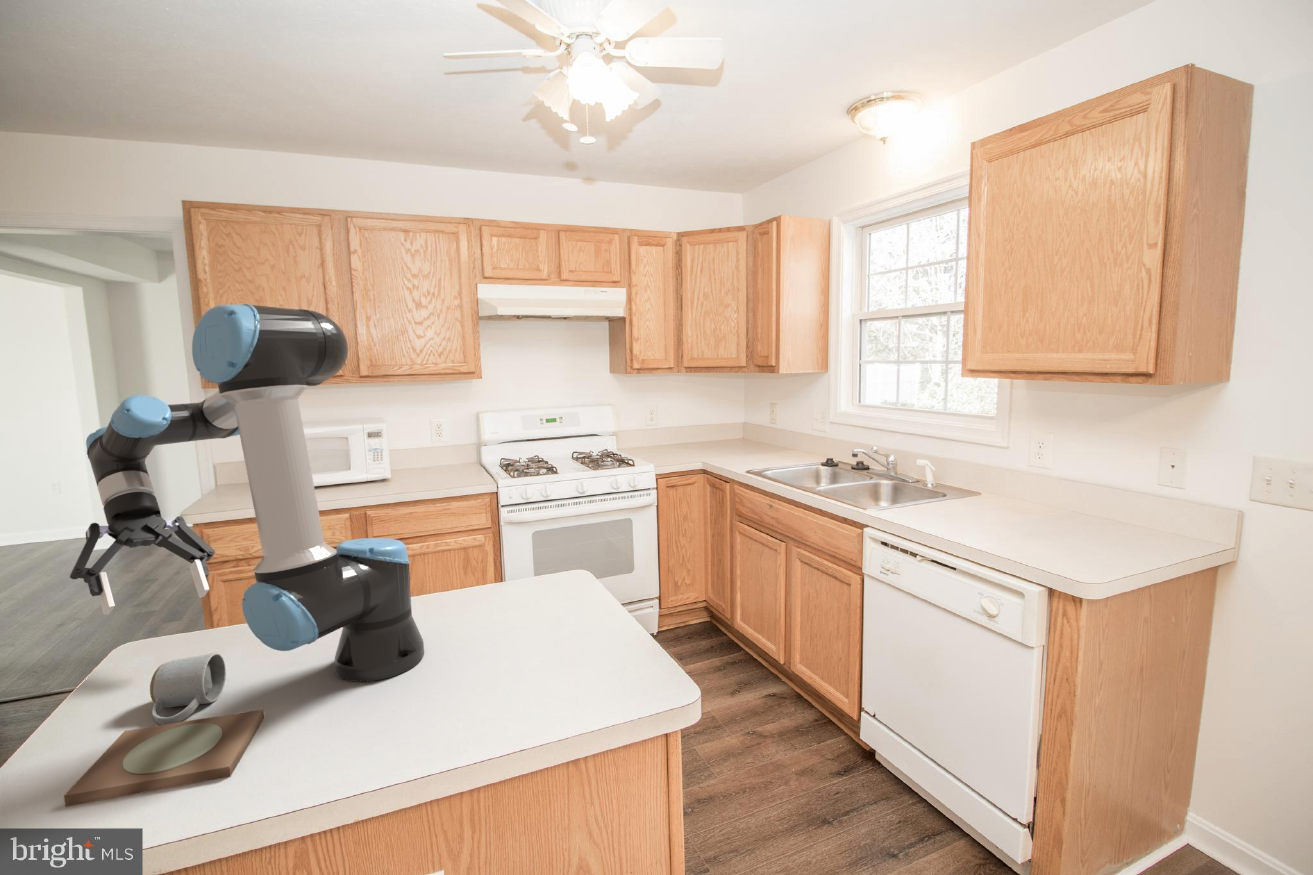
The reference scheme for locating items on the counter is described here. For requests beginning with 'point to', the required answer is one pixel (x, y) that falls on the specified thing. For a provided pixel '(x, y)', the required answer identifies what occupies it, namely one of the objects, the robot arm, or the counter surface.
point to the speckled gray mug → (187, 685)
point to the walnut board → (168, 757)
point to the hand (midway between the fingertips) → (159, 601)
